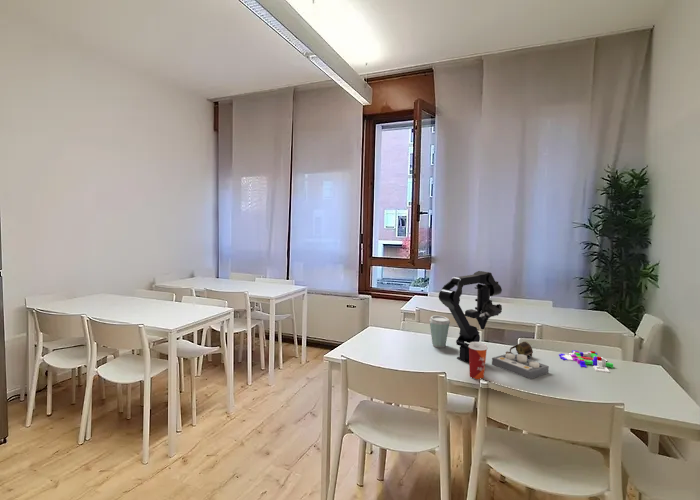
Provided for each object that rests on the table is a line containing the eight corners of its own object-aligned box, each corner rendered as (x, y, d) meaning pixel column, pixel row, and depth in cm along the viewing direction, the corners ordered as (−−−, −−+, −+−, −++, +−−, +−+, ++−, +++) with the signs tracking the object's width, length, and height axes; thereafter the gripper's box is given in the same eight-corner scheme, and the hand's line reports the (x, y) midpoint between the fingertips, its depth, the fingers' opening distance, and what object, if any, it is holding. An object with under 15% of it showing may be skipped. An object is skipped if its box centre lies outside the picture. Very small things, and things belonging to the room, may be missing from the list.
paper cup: (483, 382, 159) (485, 348, 158) (464, 377, 164) (466, 344, 162) (488, 375, 166) (489, 343, 165) (469, 371, 170) (471, 340, 169)
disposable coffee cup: (452, 345, 206) (453, 316, 204) (445, 350, 197) (446, 321, 195) (432, 341, 211) (433, 313, 210) (425, 346, 202) (426, 318, 201)
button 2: (535, 373, 168) (535, 365, 167) (527, 370, 171) (527, 362, 171) (541, 371, 170) (541, 363, 169) (532, 368, 173) (532, 360, 173)
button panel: (530, 379, 163) (530, 372, 163) (491, 364, 179) (492, 357, 179) (548, 372, 170) (548, 366, 170) (509, 359, 186) (510, 352, 186)
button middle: (523, 365, 172) (523, 358, 172) (514, 362, 176) (515, 355, 176) (528, 363, 175) (528, 356, 174) (520, 360, 178) (520, 353, 178)
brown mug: (538, 350, 184) (530, 339, 193) (511, 346, 184) (504, 336, 194) (534, 363, 186) (527, 351, 195) (507, 360, 186) (501, 348, 196)
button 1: (510, 364, 178) (511, 356, 177) (503, 361, 181) (503, 354, 181) (516, 362, 180) (516, 355, 180) (508, 359, 183) (509, 352, 183)
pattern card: (527, 370, 165) (527, 369, 165) (496, 358, 178) (497, 358, 178) (532, 368, 167) (532, 367, 167) (502, 357, 180) (502, 356, 179)
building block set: (556, 350, 201) (556, 342, 201) (603, 356, 194) (603, 347, 193) (563, 367, 178) (564, 358, 177) (617, 375, 170) (618, 364, 170)
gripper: (482, 303, 177) (481, 336, 178) (510, 298, 186) (509, 330, 187) (464, 298, 186) (463, 330, 188) (492, 294, 195) (491, 324, 197)
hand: (482, 329), depth 190 cm, fingers closed
